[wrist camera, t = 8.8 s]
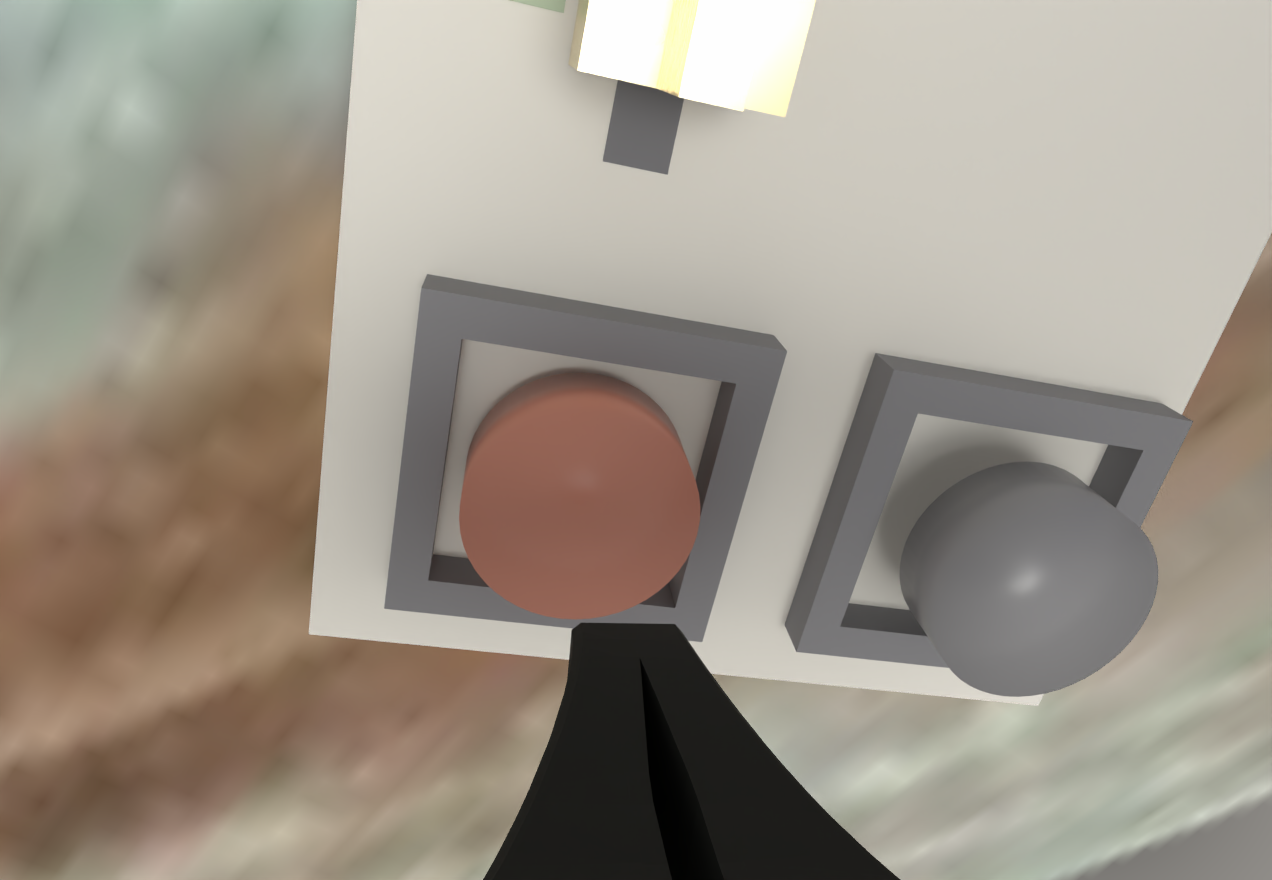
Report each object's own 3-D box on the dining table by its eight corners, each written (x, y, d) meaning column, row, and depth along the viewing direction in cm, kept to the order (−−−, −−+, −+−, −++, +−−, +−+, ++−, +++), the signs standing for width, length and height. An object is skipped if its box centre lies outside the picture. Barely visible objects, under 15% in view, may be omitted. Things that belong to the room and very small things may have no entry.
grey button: (1136, 477, 18) (1197, 521, 16) (1052, 650, 20) (1100, 706, 18) (941, 447, 17) (985, 489, 15) (872, 630, 19) (904, 686, 17)
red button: (707, 392, 17) (726, 428, 16) (658, 579, 19) (670, 630, 17) (481, 355, 16) (477, 390, 15) (452, 554, 18) (444, 606, 16)
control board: (1515, -468, 15) (1734, -579, 12) (999, 655, 24) (1059, 733, 22) (454, -924, 12) (433, -1217, 9) (327, 582, 21) (297, 663, 18)
